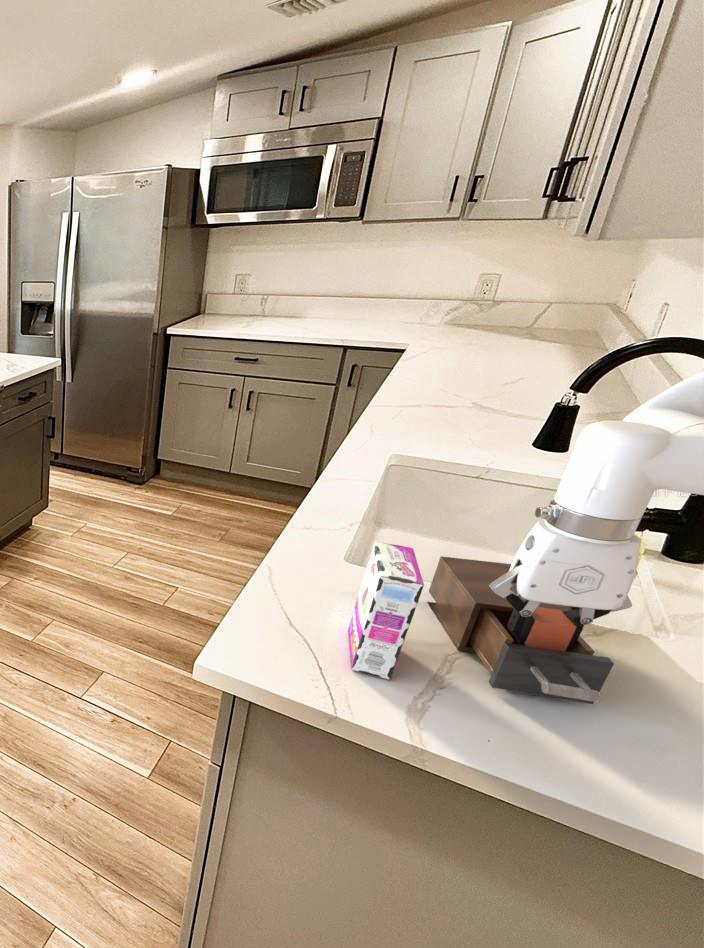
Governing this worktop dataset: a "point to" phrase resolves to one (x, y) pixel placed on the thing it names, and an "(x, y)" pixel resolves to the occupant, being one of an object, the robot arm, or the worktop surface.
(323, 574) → the worktop surface
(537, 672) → the drawer
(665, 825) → the worktop surface
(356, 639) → the candy bar box
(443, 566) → the cabinet
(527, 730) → the worktop surface
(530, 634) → the block
